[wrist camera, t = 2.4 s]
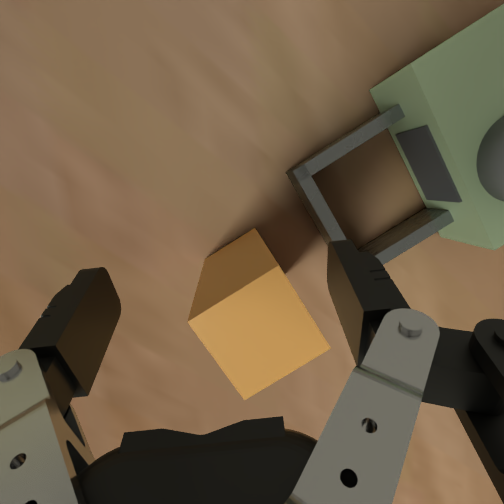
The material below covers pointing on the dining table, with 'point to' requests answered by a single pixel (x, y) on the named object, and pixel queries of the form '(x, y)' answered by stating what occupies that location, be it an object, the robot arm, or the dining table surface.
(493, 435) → the robot arm
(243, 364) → the tall orange pillar
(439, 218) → the dark grey tray
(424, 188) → the mower housing
